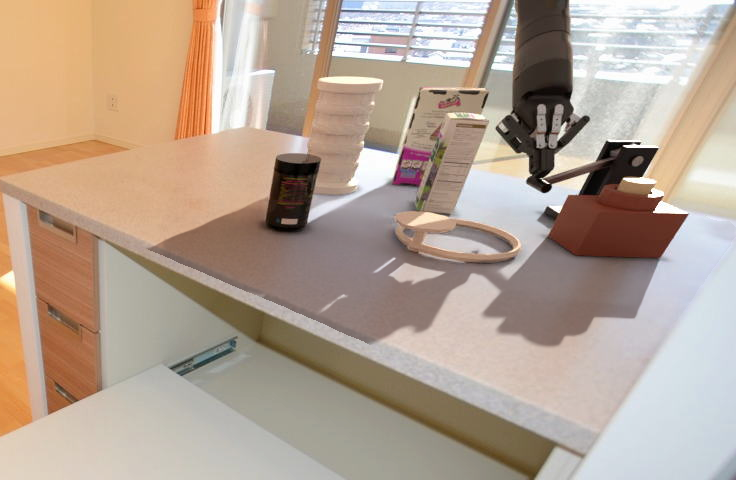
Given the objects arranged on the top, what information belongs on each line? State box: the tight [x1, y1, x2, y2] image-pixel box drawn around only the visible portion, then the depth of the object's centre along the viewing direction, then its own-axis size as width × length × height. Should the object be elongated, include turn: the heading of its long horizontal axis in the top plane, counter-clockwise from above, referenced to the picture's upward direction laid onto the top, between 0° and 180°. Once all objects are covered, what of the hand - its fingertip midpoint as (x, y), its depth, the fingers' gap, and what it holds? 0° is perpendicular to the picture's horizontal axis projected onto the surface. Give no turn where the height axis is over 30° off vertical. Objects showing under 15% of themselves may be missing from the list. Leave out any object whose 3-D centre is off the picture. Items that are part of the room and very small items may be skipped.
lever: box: [525, 144, 639, 194], centre depth 84 cm, size 13×5×2 cm, turn 81°
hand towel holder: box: [394, 210, 522, 263], centre depth 80 cm, size 17×4×21 cm
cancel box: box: [547, 184, 690, 259], centre depth 77 cm, size 11×8×8 cm
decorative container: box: [306, 75, 384, 196], centre depth 102 cm, size 12×12×18 cm
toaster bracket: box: [543, 139, 660, 221], centre depth 84 cm, size 9×10×12 cm
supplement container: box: [264, 152, 321, 233], centre depth 86 cm, size 7×7×10 cm
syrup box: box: [414, 113, 490, 215], centre depth 91 cm, size 6×6×14 cm
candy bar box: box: [392, 86, 490, 188], centre depth 102 cm, size 11×5×16 cm, turn 67°
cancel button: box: [617, 177, 657, 195], centre depth 75 cm, size 4×4×2 cm
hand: (541, 175), depth 85 cm, fingers closed
